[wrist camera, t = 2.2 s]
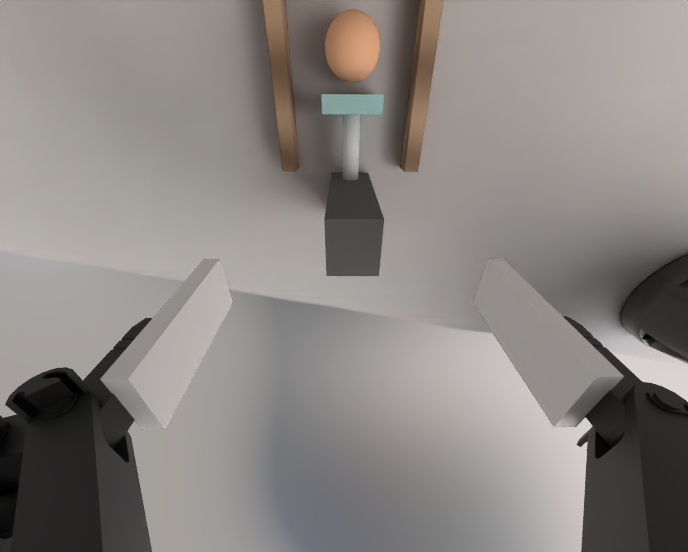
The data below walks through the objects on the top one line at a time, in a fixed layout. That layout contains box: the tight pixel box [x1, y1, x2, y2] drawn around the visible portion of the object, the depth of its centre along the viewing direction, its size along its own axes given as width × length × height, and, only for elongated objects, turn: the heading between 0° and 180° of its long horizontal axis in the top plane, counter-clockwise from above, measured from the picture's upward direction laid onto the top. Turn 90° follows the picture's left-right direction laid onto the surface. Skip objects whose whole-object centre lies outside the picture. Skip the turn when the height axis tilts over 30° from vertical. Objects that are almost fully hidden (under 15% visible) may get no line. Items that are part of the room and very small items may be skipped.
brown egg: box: [325, 9, 380, 83], centre depth 19 cm, size 4×4×4 cm
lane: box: [263, 0, 444, 172], centre depth 17 cm, size 20×12×6 cm, turn 0°
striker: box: [321, 94, 384, 276], centre depth 20 cm, size 10×4×12 cm, turn 0°
